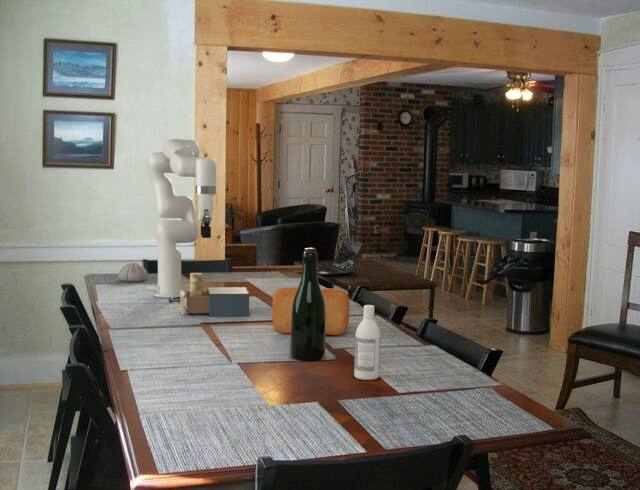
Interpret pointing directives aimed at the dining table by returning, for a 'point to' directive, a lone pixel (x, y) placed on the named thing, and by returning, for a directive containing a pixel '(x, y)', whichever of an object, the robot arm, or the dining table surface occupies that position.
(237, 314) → the cabinet
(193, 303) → the drawer
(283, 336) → the dining table surface
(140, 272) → the sea urchin shell
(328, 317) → the bread
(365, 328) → the bath foam
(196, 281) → the cylinder
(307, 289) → the green wine bottle
